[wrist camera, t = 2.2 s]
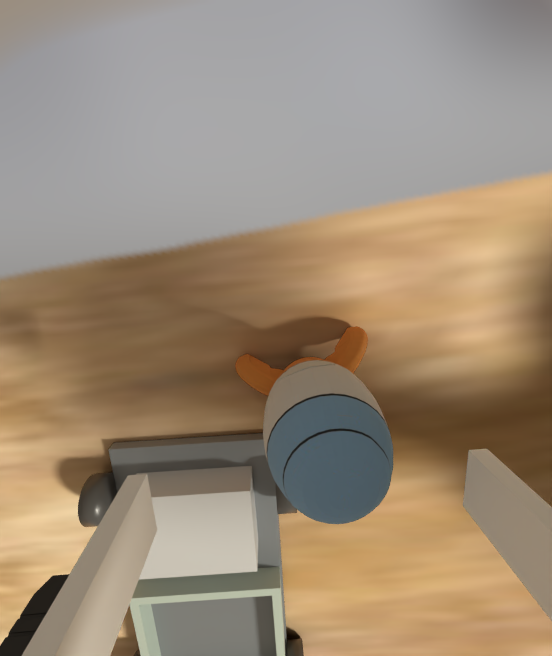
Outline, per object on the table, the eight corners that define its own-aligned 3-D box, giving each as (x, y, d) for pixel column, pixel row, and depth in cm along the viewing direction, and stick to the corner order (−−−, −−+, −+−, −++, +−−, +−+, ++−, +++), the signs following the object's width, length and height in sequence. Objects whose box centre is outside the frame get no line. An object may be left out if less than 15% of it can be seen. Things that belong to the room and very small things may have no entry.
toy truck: (291, 431, 28) (294, 460, 25) (302, 659, 35) (307, 709, 31) (95, 443, 28) (68, 475, 24) (145, 670, 35) (129, 723, 31)
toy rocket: (341, 429, 30) (343, 618, 16) (234, 389, 30) (145, 534, 17) (388, 331, 26) (445, 464, 12) (265, 287, 27) (183, 365, 13)
